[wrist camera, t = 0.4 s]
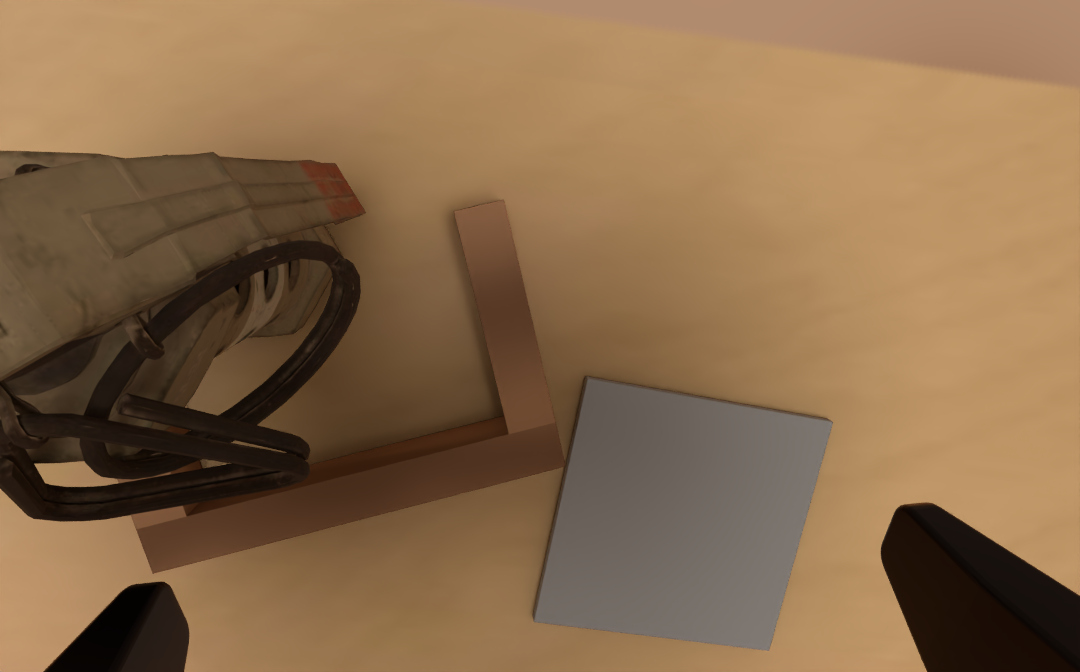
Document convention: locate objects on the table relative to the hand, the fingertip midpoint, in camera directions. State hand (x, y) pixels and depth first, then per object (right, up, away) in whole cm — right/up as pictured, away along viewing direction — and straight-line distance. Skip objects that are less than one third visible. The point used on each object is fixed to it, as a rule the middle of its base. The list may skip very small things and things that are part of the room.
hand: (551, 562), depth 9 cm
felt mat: (+5, -4, +16) cm, 18 cm away
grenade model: (-8, +5, +14) cm, 16 cm away
